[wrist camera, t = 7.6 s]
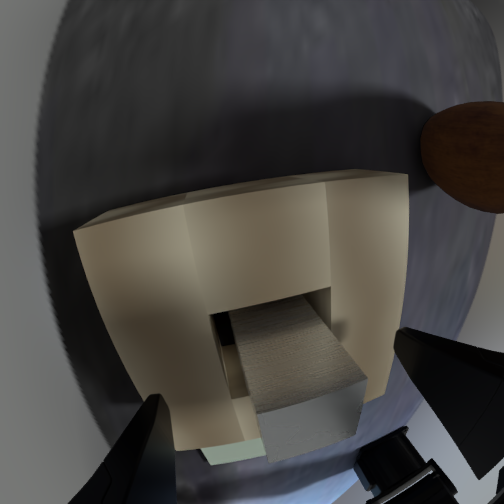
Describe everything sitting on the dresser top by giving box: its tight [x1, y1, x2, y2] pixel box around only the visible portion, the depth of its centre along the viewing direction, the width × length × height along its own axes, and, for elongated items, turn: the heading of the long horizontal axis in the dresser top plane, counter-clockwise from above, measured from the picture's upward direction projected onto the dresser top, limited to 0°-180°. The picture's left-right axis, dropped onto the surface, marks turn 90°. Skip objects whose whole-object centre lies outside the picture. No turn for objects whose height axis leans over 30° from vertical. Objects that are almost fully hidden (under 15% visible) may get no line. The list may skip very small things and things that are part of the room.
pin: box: [228, 294, 368, 463], centre depth 10 cm, size 3×3×8 cm
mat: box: [200, 438, 266, 465], centre depth 17 cm, size 10×8×1 cm
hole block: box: [73, 169, 409, 451], centre depth 12 cm, size 12×12×4 cm
